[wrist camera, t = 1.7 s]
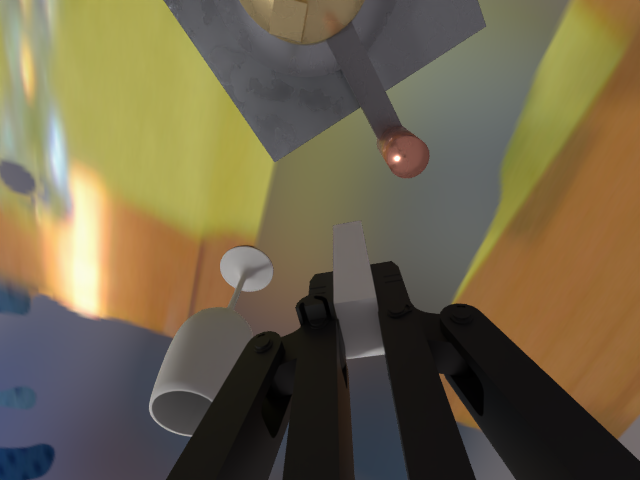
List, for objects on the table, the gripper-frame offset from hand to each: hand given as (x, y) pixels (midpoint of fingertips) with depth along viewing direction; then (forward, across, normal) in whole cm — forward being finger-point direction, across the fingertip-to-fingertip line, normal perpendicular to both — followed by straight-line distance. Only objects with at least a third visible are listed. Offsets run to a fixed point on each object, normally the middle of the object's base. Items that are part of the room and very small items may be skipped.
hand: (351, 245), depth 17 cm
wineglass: (+22, -15, -13) cm, 29 cm away
